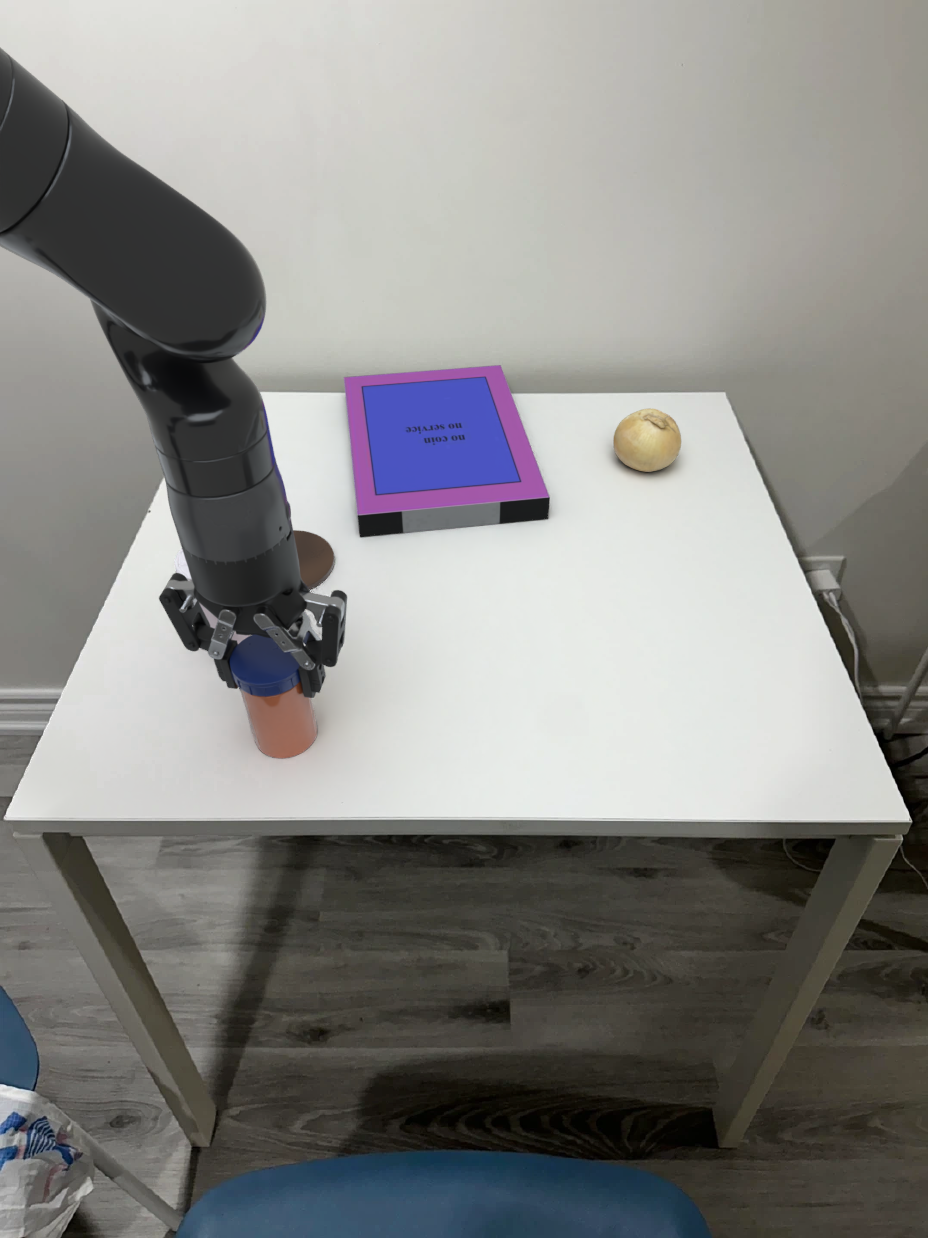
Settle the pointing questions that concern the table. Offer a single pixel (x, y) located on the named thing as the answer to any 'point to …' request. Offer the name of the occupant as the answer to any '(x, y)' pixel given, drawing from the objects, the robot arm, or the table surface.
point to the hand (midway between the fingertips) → (274, 684)
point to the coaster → (313, 557)
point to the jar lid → (263, 667)
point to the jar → (281, 722)
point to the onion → (647, 440)
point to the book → (440, 452)
